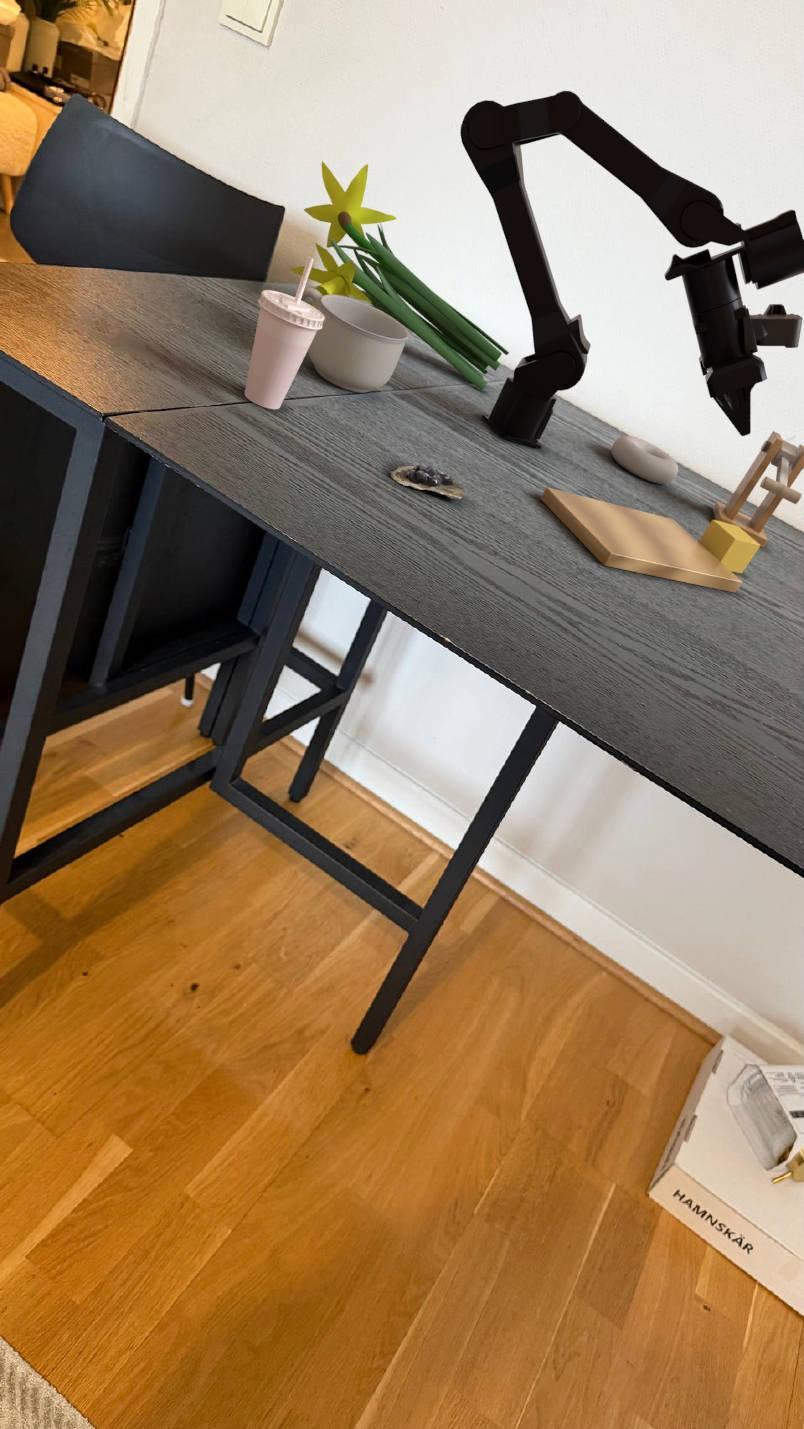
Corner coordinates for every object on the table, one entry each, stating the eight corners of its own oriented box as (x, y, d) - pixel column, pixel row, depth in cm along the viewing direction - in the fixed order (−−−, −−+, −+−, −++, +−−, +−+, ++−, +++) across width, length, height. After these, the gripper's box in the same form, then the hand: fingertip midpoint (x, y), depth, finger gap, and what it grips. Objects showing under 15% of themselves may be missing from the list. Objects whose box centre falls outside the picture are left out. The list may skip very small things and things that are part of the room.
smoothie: (302, 410, 97) (351, 272, 90) (276, 420, 92) (326, 274, 85) (248, 381, 98) (292, 242, 91) (219, 390, 92) (264, 242, 85)
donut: (606, 465, 130) (672, 495, 131) (618, 442, 129) (685, 473, 129) (606, 447, 139) (668, 476, 139) (618, 425, 137) (680, 454, 137)
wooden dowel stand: (762, 548, 128) (821, 462, 121) (716, 525, 127) (771, 437, 121) (756, 530, 134) (811, 447, 128) (712, 508, 134) (764, 424, 128)
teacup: (400, 401, 114) (426, 336, 110) (351, 404, 106) (378, 334, 101) (312, 347, 118) (335, 283, 114) (258, 346, 109) (280, 276, 105)
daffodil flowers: (476, 410, 129) (263, 231, 119) (443, 430, 143) (251, 271, 133) (545, 311, 130) (339, 125, 120) (506, 340, 144) (319, 176, 134)
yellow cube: (716, 568, 111) (735, 538, 109) (694, 548, 114) (712, 519, 112) (741, 573, 114) (760, 545, 112) (719, 554, 117) (737, 525, 115)
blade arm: (792, 509, 120) (804, 494, 118) (757, 491, 120) (768, 476, 118) (795, 465, 127) (806, 451, 125) (762, 449, 127) (773, 434, 125)
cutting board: (603, 565, 96) (611, 553, 95) (539, 498, 106) (546, 486, 105) (735, 593, 107) (743, 582, 106) (666, 529, 116) (673, 519, 115)
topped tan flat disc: (473, 508, 94) (481, 491, 93) (408, 497, 90) (416, 479, 89) (440, 475, 98) (448, 458, 97) (377, 462, 94) (384, 445, 93)
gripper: (800, 285, 100) (828, 429, 106) (778, 272, 116) (804, 398, 122) (692, 325, 104) (725, 461, 110) (685, 307, 120) (715, 427, 126)
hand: (745, 434), depth 117 cm, fingers closed
